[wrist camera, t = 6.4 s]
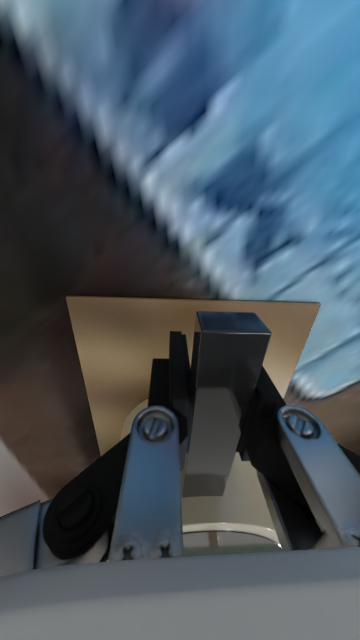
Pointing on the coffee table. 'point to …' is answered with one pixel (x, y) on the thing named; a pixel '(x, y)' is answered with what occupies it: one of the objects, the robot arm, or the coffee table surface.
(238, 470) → the saucepan
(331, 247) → the coffee table surface
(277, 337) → the cork mat
